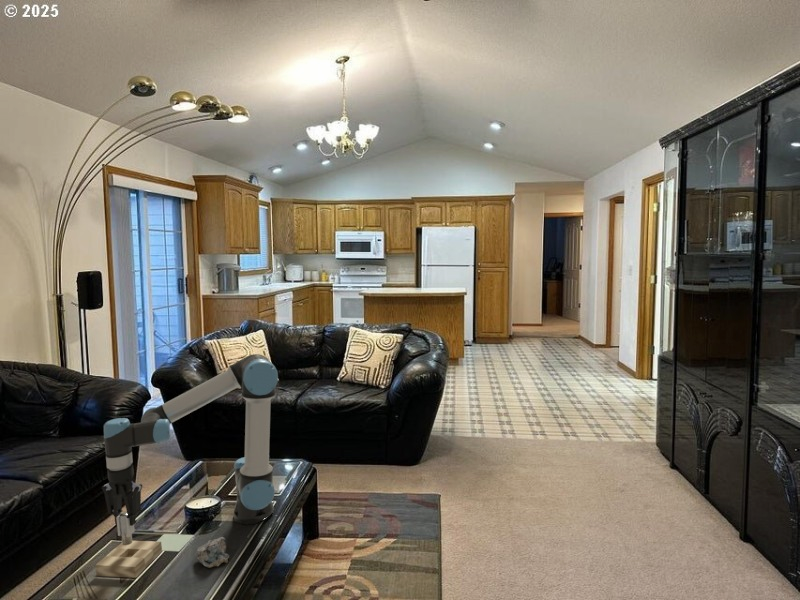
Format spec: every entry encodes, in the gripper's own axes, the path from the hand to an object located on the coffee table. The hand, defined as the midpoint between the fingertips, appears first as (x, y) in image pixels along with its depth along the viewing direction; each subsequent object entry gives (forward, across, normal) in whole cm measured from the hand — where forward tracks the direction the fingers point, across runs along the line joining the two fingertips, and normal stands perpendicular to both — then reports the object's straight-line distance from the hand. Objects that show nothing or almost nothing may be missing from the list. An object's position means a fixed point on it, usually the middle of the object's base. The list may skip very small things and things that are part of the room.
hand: (126, 533), depth 169 cm
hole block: (+11, 0, 0) cm, 11 cm away
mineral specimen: (+11, -28, -4) cm, 30 cm away
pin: (+3, 0, 0) cm, 3 cm away
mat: (+11, -7, -13) cm, 18 cm away
